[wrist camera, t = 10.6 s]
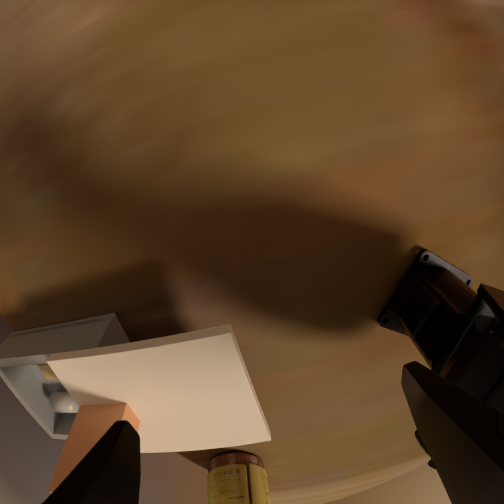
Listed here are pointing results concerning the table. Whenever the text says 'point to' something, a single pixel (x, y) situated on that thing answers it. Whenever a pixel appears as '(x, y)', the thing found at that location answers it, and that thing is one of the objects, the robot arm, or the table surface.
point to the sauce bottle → (237, 480)
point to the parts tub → (40, 373)
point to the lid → (161, 394)
